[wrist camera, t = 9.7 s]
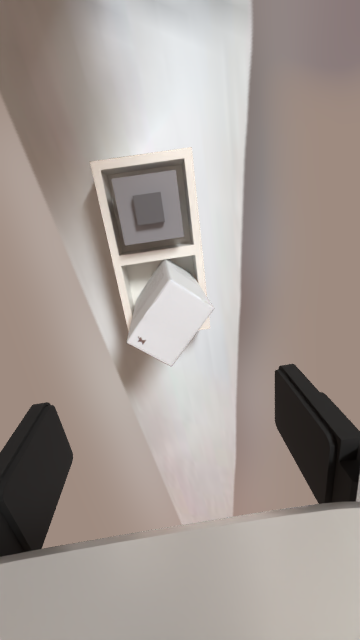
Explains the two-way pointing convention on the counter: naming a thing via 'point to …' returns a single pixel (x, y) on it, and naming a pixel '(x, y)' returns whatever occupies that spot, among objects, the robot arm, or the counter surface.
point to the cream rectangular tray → (144, 258)
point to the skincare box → (168, 313)
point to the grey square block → (148, 207)
